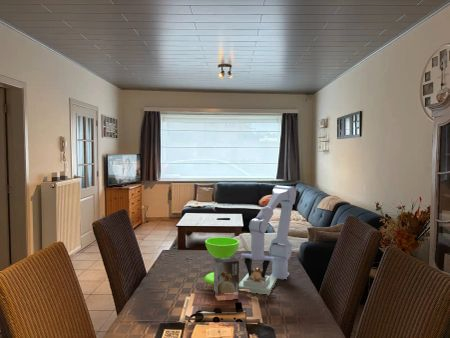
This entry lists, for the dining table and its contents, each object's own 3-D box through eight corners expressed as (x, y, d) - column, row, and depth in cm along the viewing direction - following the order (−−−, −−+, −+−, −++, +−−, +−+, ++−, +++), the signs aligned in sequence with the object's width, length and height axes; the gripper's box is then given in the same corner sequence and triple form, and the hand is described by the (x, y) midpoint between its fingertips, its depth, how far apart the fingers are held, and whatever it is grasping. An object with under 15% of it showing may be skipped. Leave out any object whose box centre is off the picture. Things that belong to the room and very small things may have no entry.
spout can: (252, 279, 163) (253, 265, 163) (263, 281, 162) (264, 267, 161) (249, 283, 158) (250, 269, 158) (261, 285, 157) (262, 270, 156)
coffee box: (234, 293, 152) (235, 256, 152) (238, 300, 146) (239, 260, 145) (213, 295, 150) (214, 257, 149) (216, 302, 144) (217, 262, 143)
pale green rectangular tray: (247, 277, 173) (248, 269, 173) (276, 281, 168) (277, 272, 168) (236, 290, 156) (237, 281, 156) (268, 295, 151) (269, 286, 151)
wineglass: (235, 286, 160) (236, 246, 160) (200, 283, 164) (201, 244, 163) (240, 274, 176) (241, 238, 175) (209, 272, 179) (209, 236, 178)
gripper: (239, 246, 158) (238, 276, 159) (272, 249, 153) (271, 281, 154) (243, 242, 165) (243, 271, 165) (275, 246, 160) (274, 276, 161)
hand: (256, 276), depth 160 cm, fingers open, 6 cm apart
